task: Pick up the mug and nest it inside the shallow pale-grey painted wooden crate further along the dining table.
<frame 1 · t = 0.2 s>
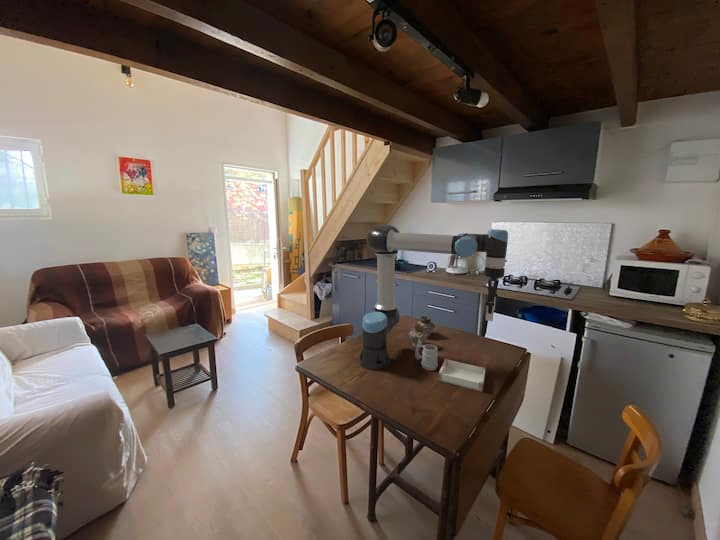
hand: (490, 315, 126), 28 cm above the table, fingers open, 13 cm apart
mug: (425, 365, 139), on the table
crate: (461, 377, 128), on the table
pottery: (421, 340, 166), on the table
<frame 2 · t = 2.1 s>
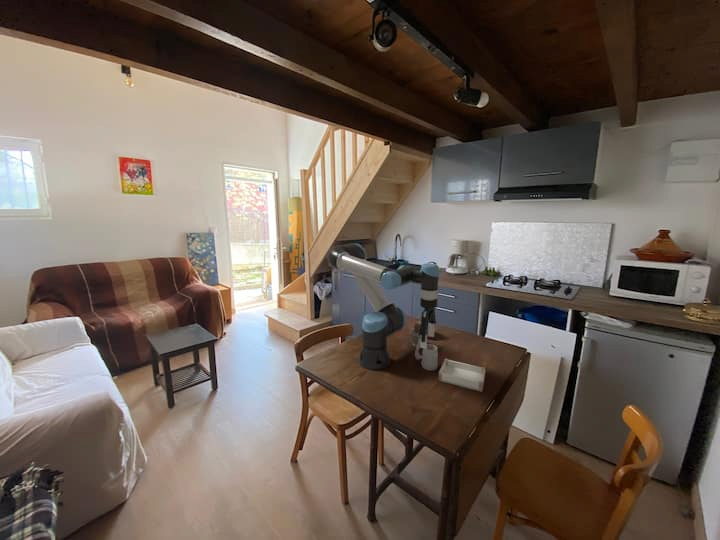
hand: (427, 342, 136), 12 cm above the table, fingers open, 13 cm apart
nothing on the table moved.
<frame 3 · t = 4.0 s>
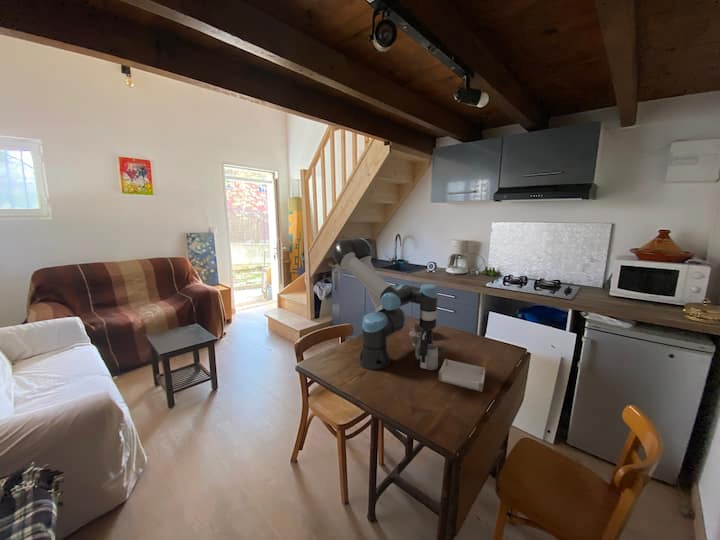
hand: (425, 363, 139), 1 cm above the table, fingers closed on mug, 7 cm apart
mug: (425, 365, 139), on the table, touching gripper
everything else where it was.
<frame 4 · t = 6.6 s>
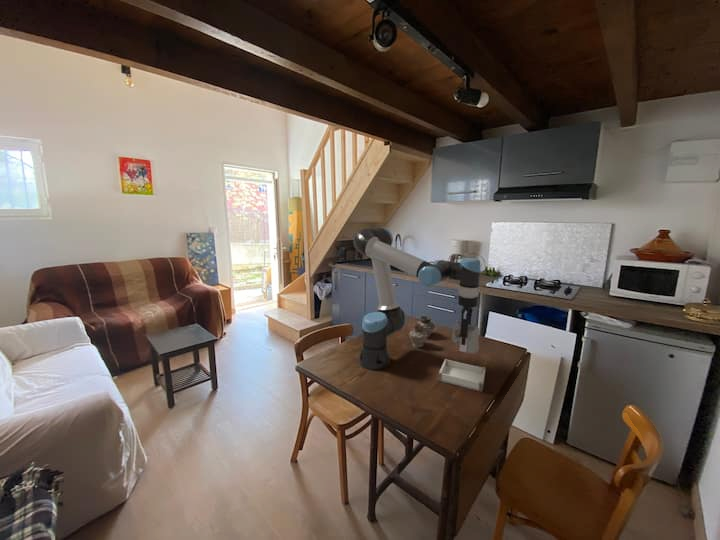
hand: (464, 347, 125), 15 cm above the table, fingers closed on mug, 7 cm apart
mug: (464, 348, 126), point 14 cm above the table, touching gripper
everything else where it was.
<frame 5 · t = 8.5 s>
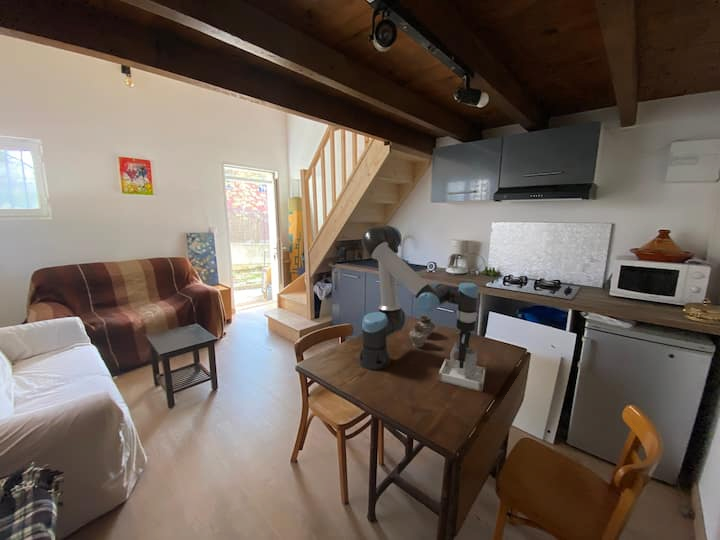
hand: (462, 369, 127), 4 cm above the table, fingers closed on mug, 7 cm apart
mug: (462, 370, 128), point 3 cm above the table, touching gripper
everything else where it was.
when the fingers open (4 cm above the table, at t = 9.2 s): mug drops 3 cm, resting on crate.
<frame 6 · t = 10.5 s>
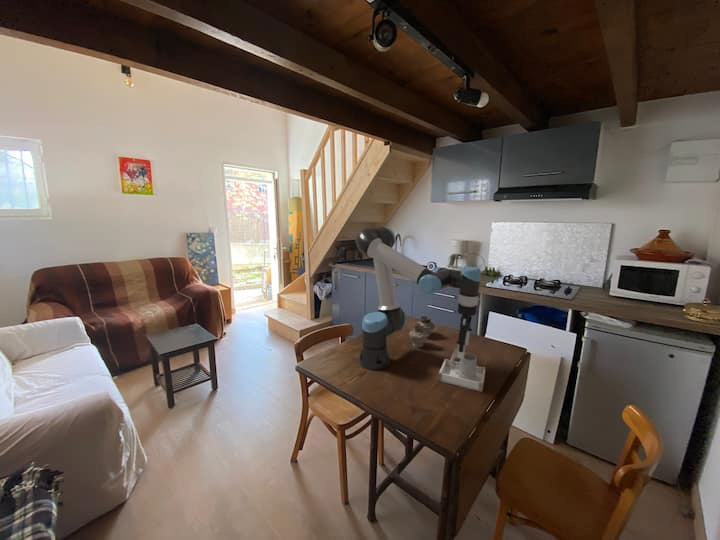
hand: (462, 351, 126), 13 cm above the table, fingers open, 13 cm apart
mug: (462, 376, 128), point 1 cm above the table, touching crate
everything else where it was.
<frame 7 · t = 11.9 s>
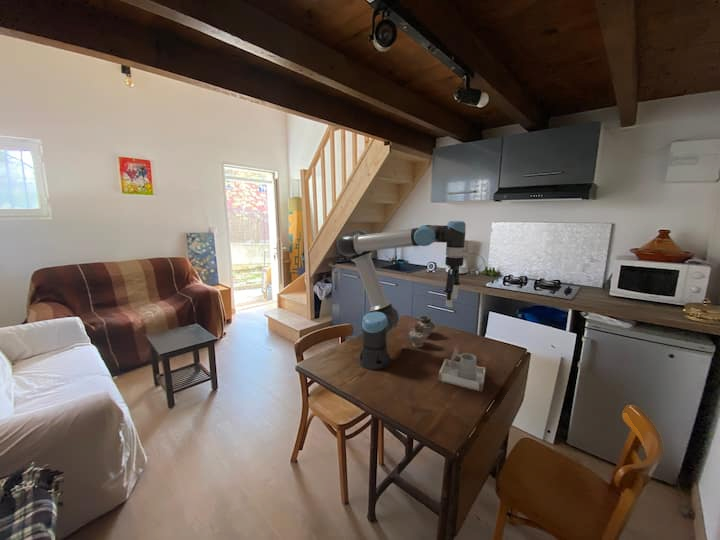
hand: (451, 302, 134), 31 cm above the table, fingers open, 13 cm apart
nothing on the table moved.
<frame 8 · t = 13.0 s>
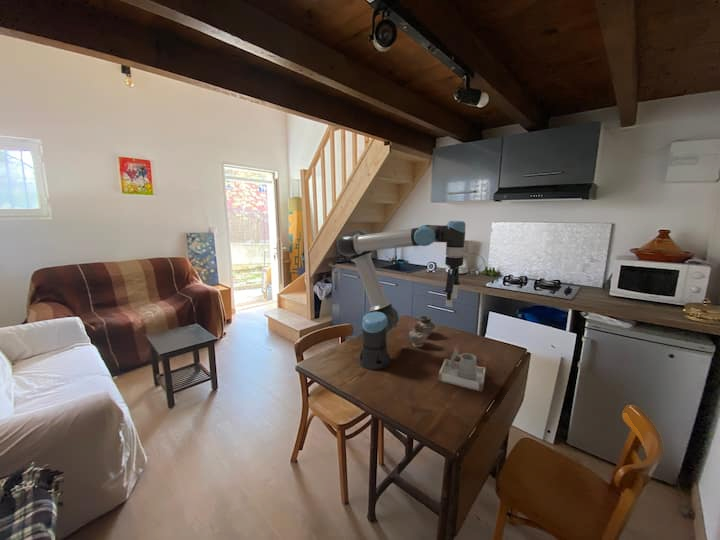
hand: (451, 302, 134), 31 cm above the table, fingers open, 13 cm apart
nothing on the table moved.
at the end: mug 0.4 cm from the crate (horizontally); mug point 0.6 cm above the table; mug tilted 0° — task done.
